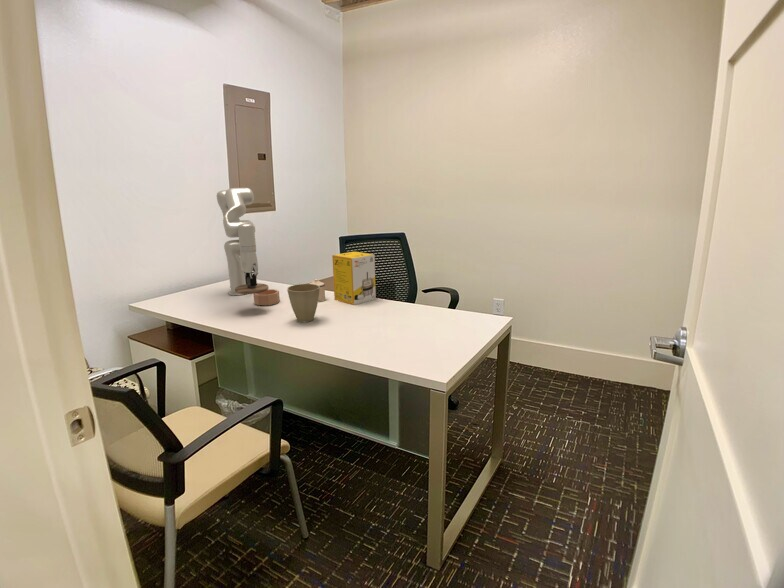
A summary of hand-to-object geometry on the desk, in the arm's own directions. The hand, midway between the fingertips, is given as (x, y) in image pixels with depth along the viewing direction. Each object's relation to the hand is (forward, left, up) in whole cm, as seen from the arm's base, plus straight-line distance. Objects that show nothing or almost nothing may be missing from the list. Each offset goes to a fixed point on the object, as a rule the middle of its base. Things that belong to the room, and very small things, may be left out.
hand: (251, 284), depth 220 cm
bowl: (-9, +13, -14) cm, 21 cm away
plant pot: (+31, +10, -14) cm, 36 cm away
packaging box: (+21, +50, -14) cm, 56 cm away
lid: (0, 0, -3) cm, 3 cm away
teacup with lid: (+5, +35, -14) cm, 38 cm away
